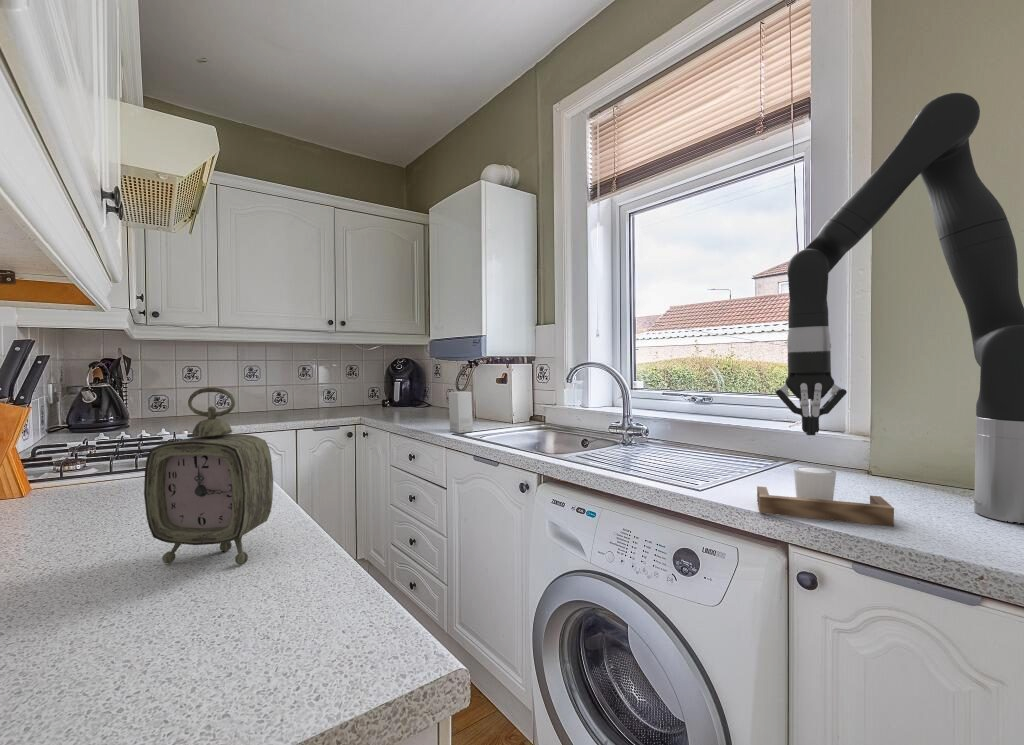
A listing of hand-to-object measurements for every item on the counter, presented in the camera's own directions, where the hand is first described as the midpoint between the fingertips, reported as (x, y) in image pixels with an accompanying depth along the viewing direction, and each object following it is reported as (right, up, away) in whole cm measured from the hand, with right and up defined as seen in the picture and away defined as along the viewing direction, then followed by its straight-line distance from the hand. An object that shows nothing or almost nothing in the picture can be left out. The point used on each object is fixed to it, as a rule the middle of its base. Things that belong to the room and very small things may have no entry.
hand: (810, 434), depth 102 cm
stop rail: (-5, -13, -11) cm, 18 cm away
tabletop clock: (-104, -15, -28) cm, 109 cm away
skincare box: (-81, -11, +92) cm, 123 cm away
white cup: (-4, -13, -8) cm, 15 cm away
